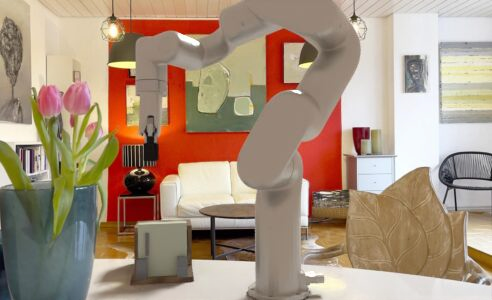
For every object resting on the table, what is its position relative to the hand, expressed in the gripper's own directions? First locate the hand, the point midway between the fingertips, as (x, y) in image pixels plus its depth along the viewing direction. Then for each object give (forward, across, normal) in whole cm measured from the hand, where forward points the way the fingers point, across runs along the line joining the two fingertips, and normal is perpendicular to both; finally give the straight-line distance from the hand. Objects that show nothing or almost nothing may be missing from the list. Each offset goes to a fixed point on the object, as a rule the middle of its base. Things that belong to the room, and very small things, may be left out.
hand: (151, 160), depth 100 cm
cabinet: (+27, -2, +3) cm, 28 cm away
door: (+26, +4, +3) cm, 27 cm away
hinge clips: (+27, +4, +3) cm, 28 cm away
